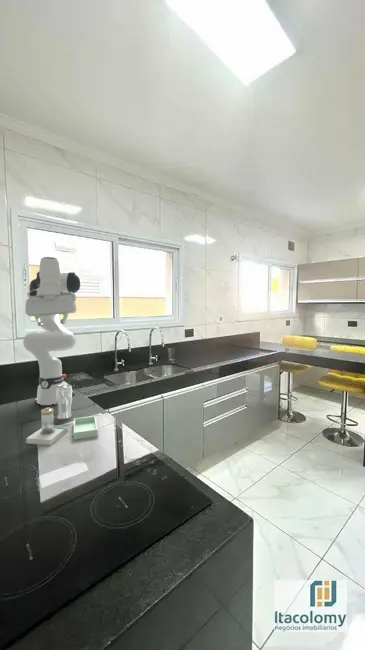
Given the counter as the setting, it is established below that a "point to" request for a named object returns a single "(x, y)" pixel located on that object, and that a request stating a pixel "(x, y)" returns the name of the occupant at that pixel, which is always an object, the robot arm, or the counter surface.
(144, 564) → the counter surface
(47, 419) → the cell
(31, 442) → the white flat block
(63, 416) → the clear plastic bottle
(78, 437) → the trough
